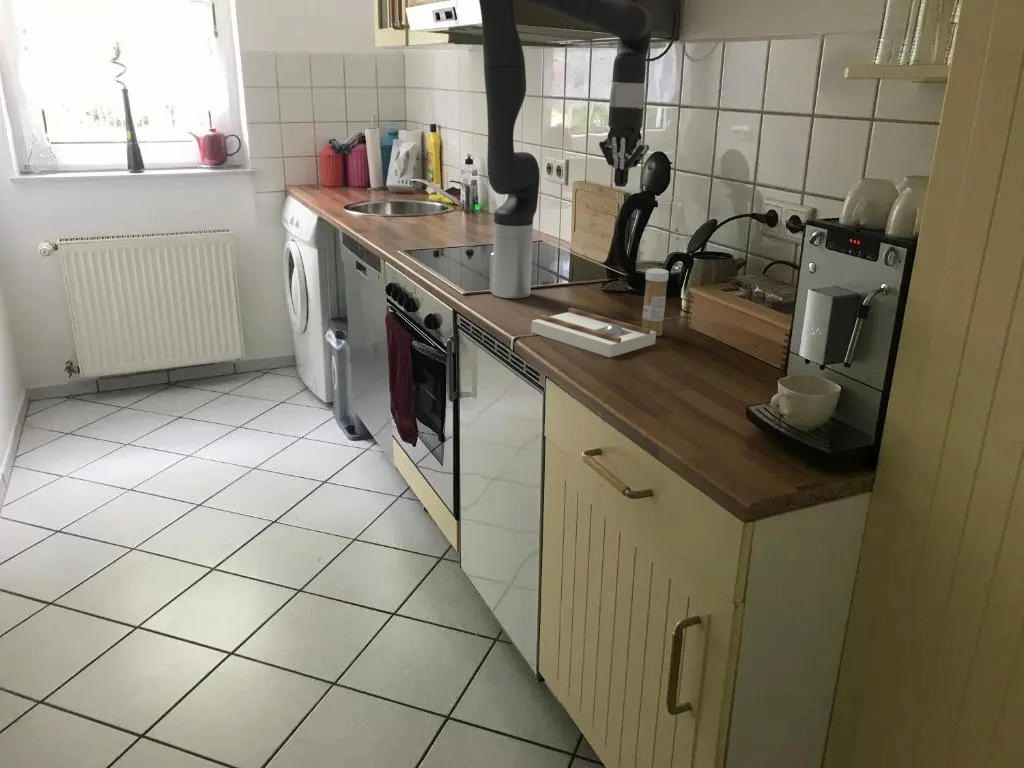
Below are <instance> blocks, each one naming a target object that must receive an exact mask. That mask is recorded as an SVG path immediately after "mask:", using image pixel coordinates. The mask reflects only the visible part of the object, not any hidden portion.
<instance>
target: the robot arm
mask: <svg viewBox="0 0 1024 768" xmlns="http://www.w3.org/2000/svg"><path fill="white" fill-rule="evenodd" d="M478 1H479V8H480V14H481V15H480V17H481V28H482V30H481V31H482V32H481V33H482V35H481V36H482V50H483V51H482V52H483V54H482V55H483V70H484V71H483V73H484V75H483V76H484V87H485V97H486V98H485V99H486V111H487V112H486V114H487V115H486V116H487V158H486V159H487V163H486V164H487V165H486V166H487V178H488V181H489V184H490V187H491V189H492V190H493V191H494V192H495V193H496V194H498V195H502V196H503V195H504V196H505V195H507V199H506V200H505V201H504V203H503V204H502V205H501V206H499V207H497V209H496V210H494V213H493V252H491V253H490V256H489V259H490V260H489V261H490V263H489V293H491V294H492V295H493V296H496V297H498V298H502V299H503V298H504V299H523V298H528V297H529V296H531V287H532V286H531V284H532V283H531V282H532V258H533V231H534V230H533V229H534V217H535V214H536V212H537V209H538V208H537V207H538V200H539V189H540V178H541V177H540V168H539V163H538V160H537V159H536V157H535V156H534V155H533V154H531V153H529V152H526V151H519V152H518V151H517V152H515V148H514V147H515V145H514V134H515V133H514V130H515V125H516V122H517V118H518V116H519V114H520V111H521V109H522V107H523V106H522V105H523V103H524V101H525V97H526V94H527V76H526V71H527V70H526V61H525V55H524V51H523V50H524V49H523V46H522V41H521V39H520V35H519V32H518V28H517V24H516V19H515V10H514V8H515V7H514V1H516V2H522V3H525V4H526V3H527V4H530V5H534V6H537V7H540V8H543V9H545V10H548V11H550V12H553V13H555V14H558V15H560V16H562V17H564V18H567V19H569V20H571V21H575V22H577V23H580V24H582V25H584V26H588V27H591V28H594V29H600V30H602V31H604V32H606V33H608V34H610V35H613V36H615V37H617V38H618V47H617V54H616V56H615V57H614V59H613V60H614V61H613V68H612V79H611V80H612V82H611V88H610V96H609V106H608V107H609V109H608V111H609V112H608V120H607V121H608V123H607V125H608V127H609V131H608V133H607V138H606V139H604V140H603V141H600V142H598V146H599V148H600V150H601V153H602V154H603V156H604V158H605V160H606V162H607V163H606V164H608V165H609V166H611V167H613V168H614V177H613V178H614V179H613V182H614V186H615V187H621V188H622V187H625V188H626V186H627V184H628V181H629V172H630V169H632V168H637V166H638V165H639V163H640V162H641V161H642V160H643V158H644V156H646V154H647V152H648V151H649V150H650V146H649V144H645V143H644V142H643V141H642V138H643V137H642V134H641V129H642V127H643V121H644V113H645V112H644V111H645V109H644V108H645V100H646V98H645V97H646V93H645V92H646V90H645V82H646V72H647V71H646V70H647V56H648V52H649V51H648V50H649V46H650V41H651V36H652V18H651V15H650V13H649V12H648V10H647V9H646V8H644V7H642V6H641V5H638V4H635V3H633V2H629V1H627V0H478Z"/></svg>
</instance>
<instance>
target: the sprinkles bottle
mask: <svg viewBox="0 0 1024 768" xmlns="http://www.w3.org/2000/svg"><path fill="white" fill-rule="evenodd" d="M669 273H670V272H669V271H668V270H667V269H664V268H655V267H654V268H649V269H647V270H645V277H644V278H645V288H644V289H645V291H644V296H643V297H644V298H643V309H642V319H641V327H642V328H646V329H649V330H651V331H655V332H656V337H659V336H662V335H663V325H664V317H665V309H666V299H667V286H668V281H669Z"/></svg>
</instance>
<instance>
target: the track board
mask: <svg viewBox="0 0 1024 768" xmlns="http://www.w3.org/2000/svg"><path fill="white" fill-rule="evenodd" d="M567 310H568V312H562V313H559V314H555V315H551V316H548V315H545V314H539V315H538V319H533V320H532V319H531V327H530V328H531V329H530V331H531V333H532V334H535V335H539V336H542V337H545V338H548V339H551V340H554V341H557V342H561V343H563V344H566V345H569V346H572V347H576V348H579V349H582V350H584V351H588V352H591V353H594V354H598V355H600V356H604V357H607V358H613V357H616V356H620V355H623V354H626V353H630V352H633V351H636V350H639V349H643V348H645V347H649V346H653V345H656V337H657V336H656V332H655V331H651V330H649V329H646V328H642V326H639V325H634V324H632V323H627V322H625V321H624V322H623V321H620V320H616V319H613V318H609V317H606V316H603V315H599V314H596V313H591V312H588V311H585V310H581V309H577V308H573V307H569V308H568V309H567ZM613 324H615V325H618V326H620V327H621V328H622V330H623V333H624V335H623V336H620V337H616V336H613V335H610V334H606V333H604V330H605V328H606V327H607V326H609V325H613Z"/></svg>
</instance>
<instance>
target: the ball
mask: <svg viewBox="0 0 1024 768" xmlns="http://www.w3.org/2000/svg"><path fill="white" fill-rule="evenodd" d="M604 333H606V334H610V335H613V336H616V337H620V336H623V335H624V333H623V330H622V328H621V327H620V326H618V325H615V324H613V325H609V326H607V327H606V328H605V330H604Z"/></svg>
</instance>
